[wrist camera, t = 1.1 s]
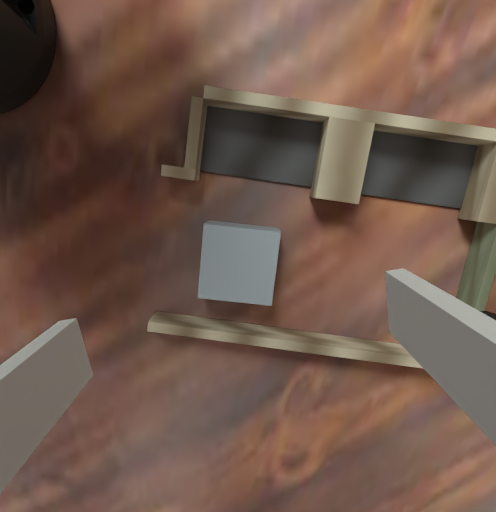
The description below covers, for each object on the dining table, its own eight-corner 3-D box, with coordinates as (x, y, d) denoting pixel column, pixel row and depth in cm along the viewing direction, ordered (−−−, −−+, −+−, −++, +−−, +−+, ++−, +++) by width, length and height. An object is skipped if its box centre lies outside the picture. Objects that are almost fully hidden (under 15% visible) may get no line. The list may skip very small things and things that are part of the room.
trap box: (155, 319, 36) (147, 331, 33) (176, 90, 32) (169, 79, 29) (448, 359, 37) (465, 374, 34) (510, 139, 32) (536, 134, 29)
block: (203, 285, 36) (197, 298, 32) (209, 219, 34) (203, 223, 30) (269, 293, 36) (271, 305, 32) (277, 227, 34) (280, 232, 31)
